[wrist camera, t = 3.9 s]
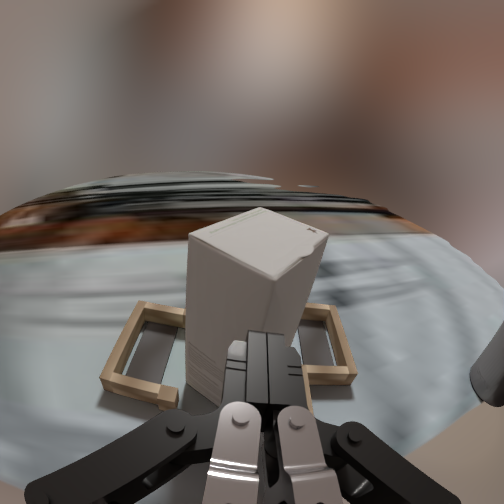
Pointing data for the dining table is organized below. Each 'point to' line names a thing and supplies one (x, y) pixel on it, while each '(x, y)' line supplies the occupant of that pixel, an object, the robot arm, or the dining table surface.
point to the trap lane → (162, 336)
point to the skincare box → (245, 287)
